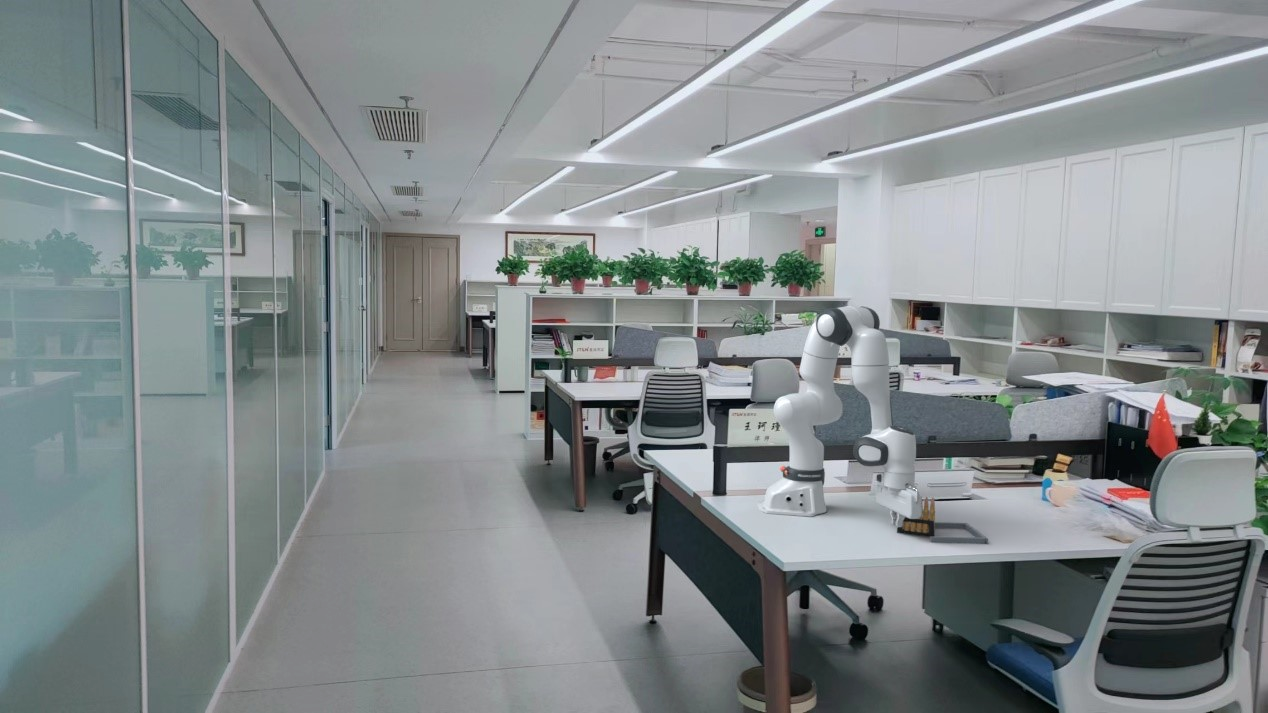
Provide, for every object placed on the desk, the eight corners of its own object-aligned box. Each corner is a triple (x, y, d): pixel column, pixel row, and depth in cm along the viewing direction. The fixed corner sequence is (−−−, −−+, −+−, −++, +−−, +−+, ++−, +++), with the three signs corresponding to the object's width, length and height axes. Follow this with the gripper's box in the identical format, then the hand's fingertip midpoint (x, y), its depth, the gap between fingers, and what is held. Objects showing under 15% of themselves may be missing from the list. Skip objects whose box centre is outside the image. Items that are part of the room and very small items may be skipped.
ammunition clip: (934, 536, 258) (936, 497, 257) (934, 538, 256) (936, 498, 255) (897, 531, 262) (899, 493, 261) (896, 533, 260) (898, 494, 259)
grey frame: (930, 543, 251) (931, 537, 251) (913, 527, 268) (913, 521, 268) (987, 544, 250) (988, 538, 250) (966, 528, 267) (966, 522, 267)
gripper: (928, 488, 249) (926, 535, 250) (890, 473, 268) (888, 516, 270) (909, 489, 247) (906, 536, 248) (872, 473, 267) (870, 517, 268)
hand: (896, 525), depth 259 cm, fingers closed
